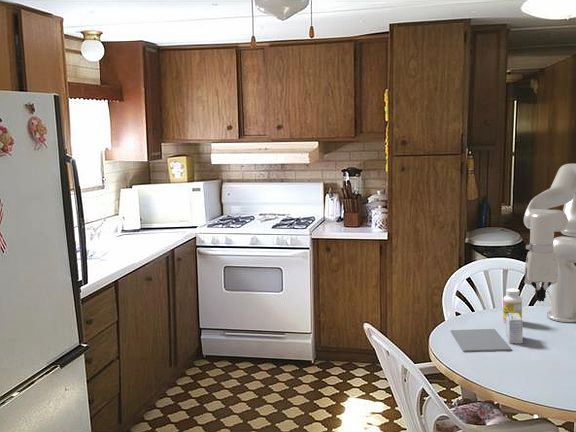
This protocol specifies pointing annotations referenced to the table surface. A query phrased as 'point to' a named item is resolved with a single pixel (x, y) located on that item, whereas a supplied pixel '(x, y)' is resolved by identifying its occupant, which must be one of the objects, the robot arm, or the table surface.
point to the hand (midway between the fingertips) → (540, 300)
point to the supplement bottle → (512, 303)
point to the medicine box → (514, 328)
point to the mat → (480, 340)
